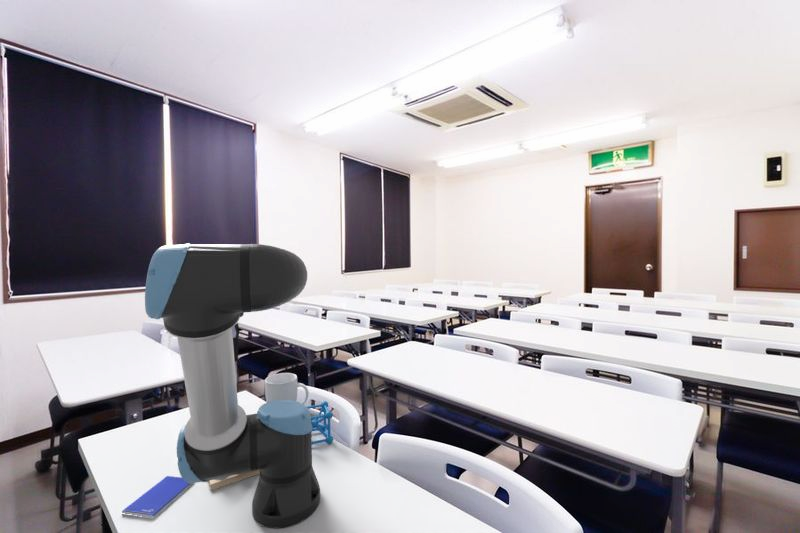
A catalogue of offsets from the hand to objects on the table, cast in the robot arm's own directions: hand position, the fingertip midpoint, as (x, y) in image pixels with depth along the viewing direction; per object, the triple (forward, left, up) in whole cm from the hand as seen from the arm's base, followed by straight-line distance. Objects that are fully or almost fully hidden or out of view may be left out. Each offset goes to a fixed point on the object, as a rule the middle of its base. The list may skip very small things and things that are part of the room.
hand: (231, 382), depth 106 cm
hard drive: (-13, +19, -21) cm, 31 cm away
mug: (+13, -20, -20) cm, 31 cm away
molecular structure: (-10, -22, -20) cm, 31 cm away
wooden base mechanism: (-6, +2, -20) cm, 21 cm away
